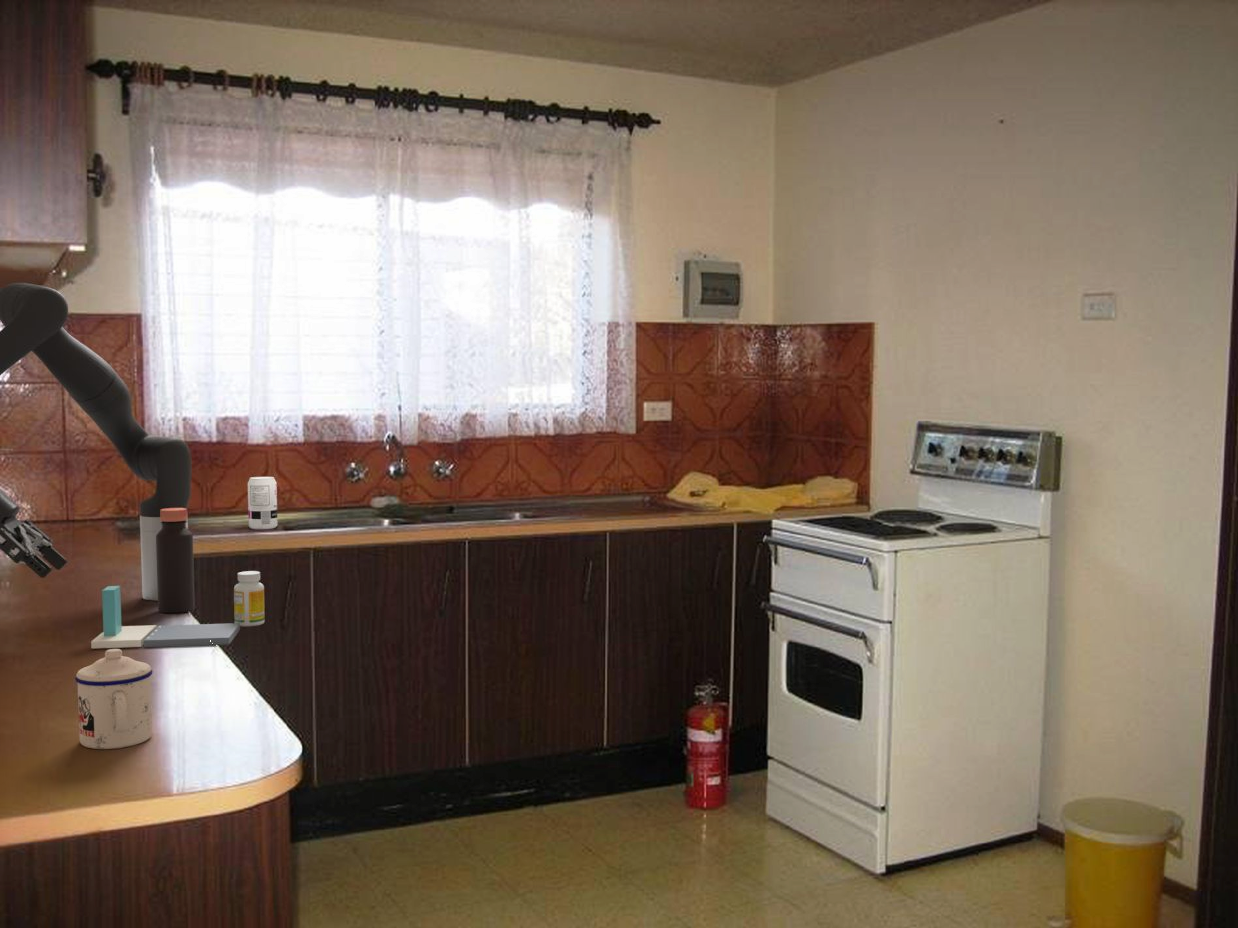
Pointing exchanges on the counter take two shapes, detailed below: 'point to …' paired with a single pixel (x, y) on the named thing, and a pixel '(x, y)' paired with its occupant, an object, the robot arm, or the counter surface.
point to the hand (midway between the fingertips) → (56, 569)
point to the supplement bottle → (249, 599)
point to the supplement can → (262, 503)
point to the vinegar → (175, 563)
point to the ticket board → (192, 635)
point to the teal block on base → (118, 624)
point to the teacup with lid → (114, 702)
